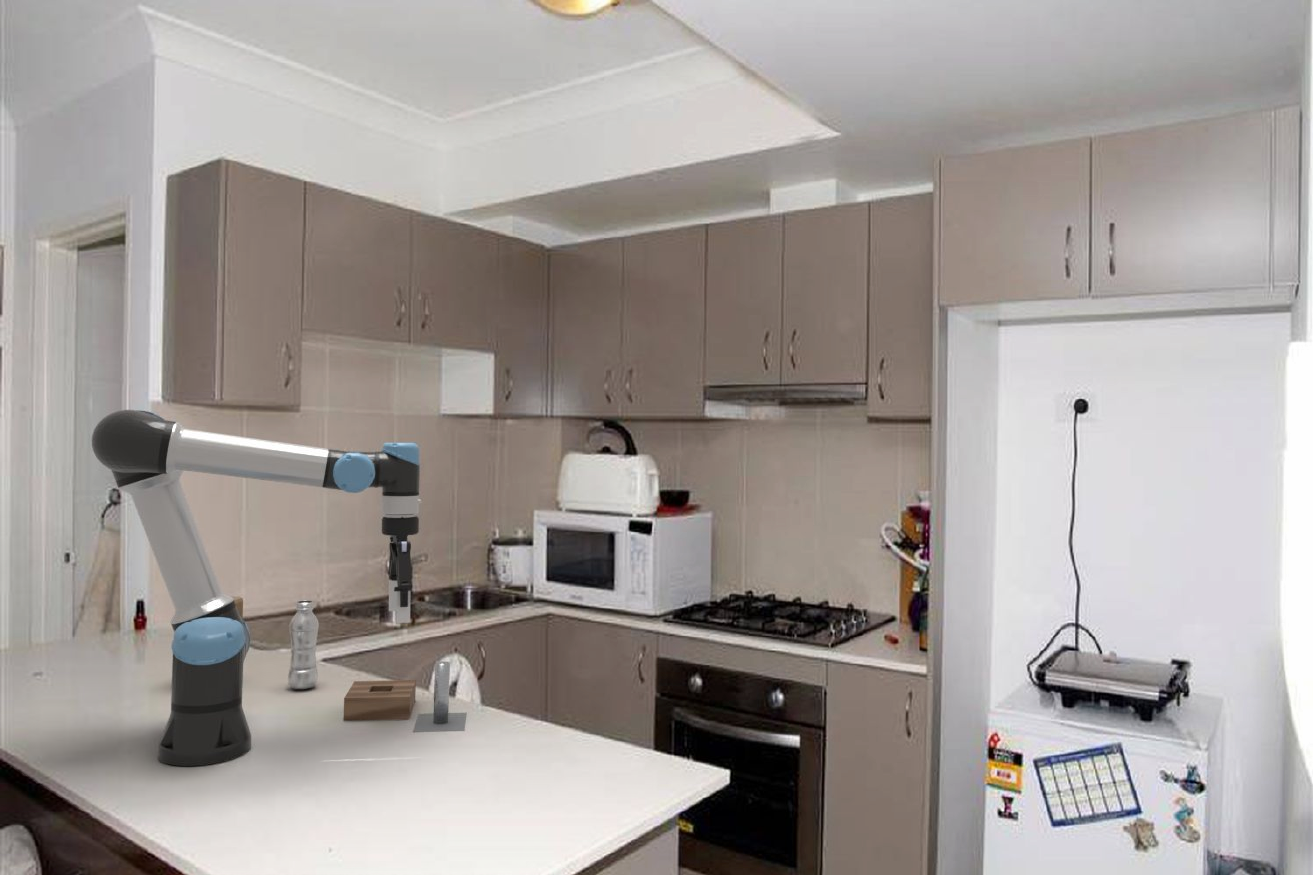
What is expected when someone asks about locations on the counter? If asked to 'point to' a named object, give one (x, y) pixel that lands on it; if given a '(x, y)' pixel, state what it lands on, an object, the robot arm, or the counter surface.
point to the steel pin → (441, 692)
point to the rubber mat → (426, 724)
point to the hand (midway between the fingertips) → (399, 616)
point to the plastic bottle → (303, 647)
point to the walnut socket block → (380, 700)
